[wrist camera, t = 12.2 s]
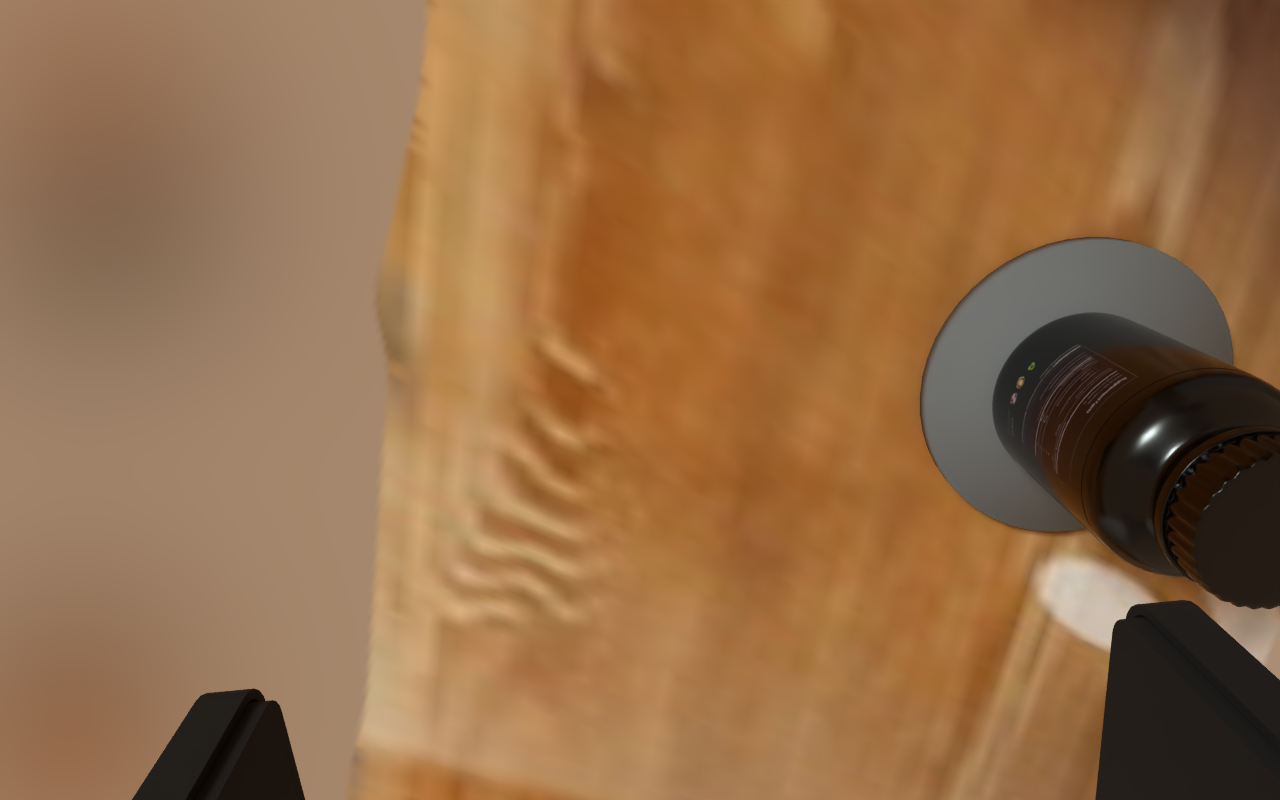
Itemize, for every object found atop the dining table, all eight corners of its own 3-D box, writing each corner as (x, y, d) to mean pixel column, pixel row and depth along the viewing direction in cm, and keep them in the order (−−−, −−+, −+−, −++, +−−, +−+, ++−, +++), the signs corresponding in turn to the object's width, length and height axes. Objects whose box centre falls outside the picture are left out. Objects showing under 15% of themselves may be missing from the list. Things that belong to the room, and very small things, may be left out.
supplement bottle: (1192, 340, 36) (1467, 465, 24) (1105, 493, 38) (1319, 674, 26) (1035, 281, 35) (1244, 382, 23) (954, 441, 37) (1109, 606, 25)
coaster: (929, 244, 35) (937, 248, 34) (1244, 229, 35) (1259, 233, 34) (911, 530, 39) (917, 539, 38) (1193, 515, 39) (1205, 523, 38)
